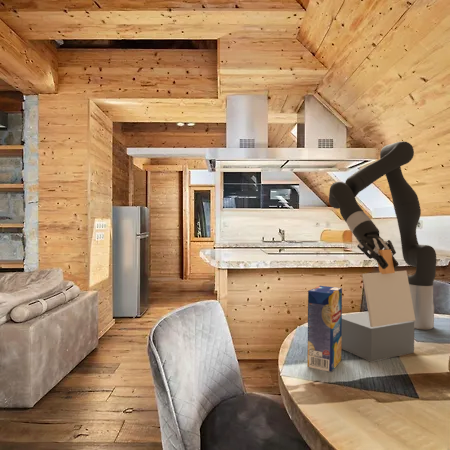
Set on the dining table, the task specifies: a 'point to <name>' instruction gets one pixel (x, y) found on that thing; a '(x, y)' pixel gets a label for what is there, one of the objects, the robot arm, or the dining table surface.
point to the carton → (376, 337)
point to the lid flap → (388, 295)
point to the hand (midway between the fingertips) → (391, 266)
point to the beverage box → (324, 327)
